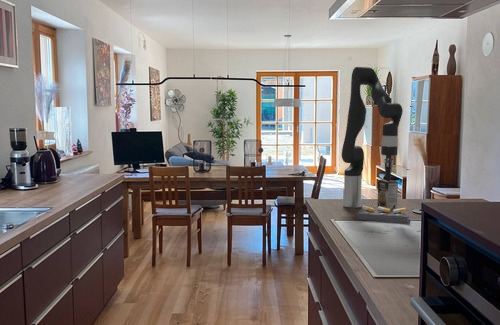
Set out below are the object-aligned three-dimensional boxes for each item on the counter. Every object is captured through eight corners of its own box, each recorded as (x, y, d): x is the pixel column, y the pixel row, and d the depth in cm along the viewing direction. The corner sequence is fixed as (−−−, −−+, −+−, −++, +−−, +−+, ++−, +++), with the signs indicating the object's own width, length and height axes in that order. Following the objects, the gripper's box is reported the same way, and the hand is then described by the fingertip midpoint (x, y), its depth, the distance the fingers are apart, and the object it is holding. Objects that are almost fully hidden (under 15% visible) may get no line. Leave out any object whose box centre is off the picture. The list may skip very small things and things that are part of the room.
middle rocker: (377, 210, 230) (377, 207, 229) (378, 209, 233) (378, 206, 233) (388, 213, 228) (389, 210, 227) (389, 212, 231) (390, 208, 231)
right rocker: (394, 214, 227) (393, 211, 227) (394, 213, 230) (393, 209, 230) (405, 212, 225) (404, 208, 225) (406, 210, 228) (405, 207, 228)
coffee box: (376, 209, 251) (377, 179, 249) (387, 209, 253) (388, 179, 251) (386, 213, 242) (387, 181, 241) (397, 212, 244) (398, 181, 243)
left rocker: (361, 209, 232) (362, 206, 232) (362, 208, 236) (363, 204, 235) (372, 213, 230) (373, 209, 230) (373, 211, 234) (374, 208, 234)
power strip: (357, 219, 228) (357, 212, 228) (359, 215, 237) (360, 209, 236) (407, 223, 220) (407, 216, 220) (408, 219, 228) (408, 212, 228)
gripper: (383, 143, 235) (381, 178, 237) (379, 145, 223) (378, 182, 225) (398, 144, 233) (397, 179, 235) (396, 146, 220) (395, 183, 222)
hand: (388, 180), depth 230 cm, fingers closed
